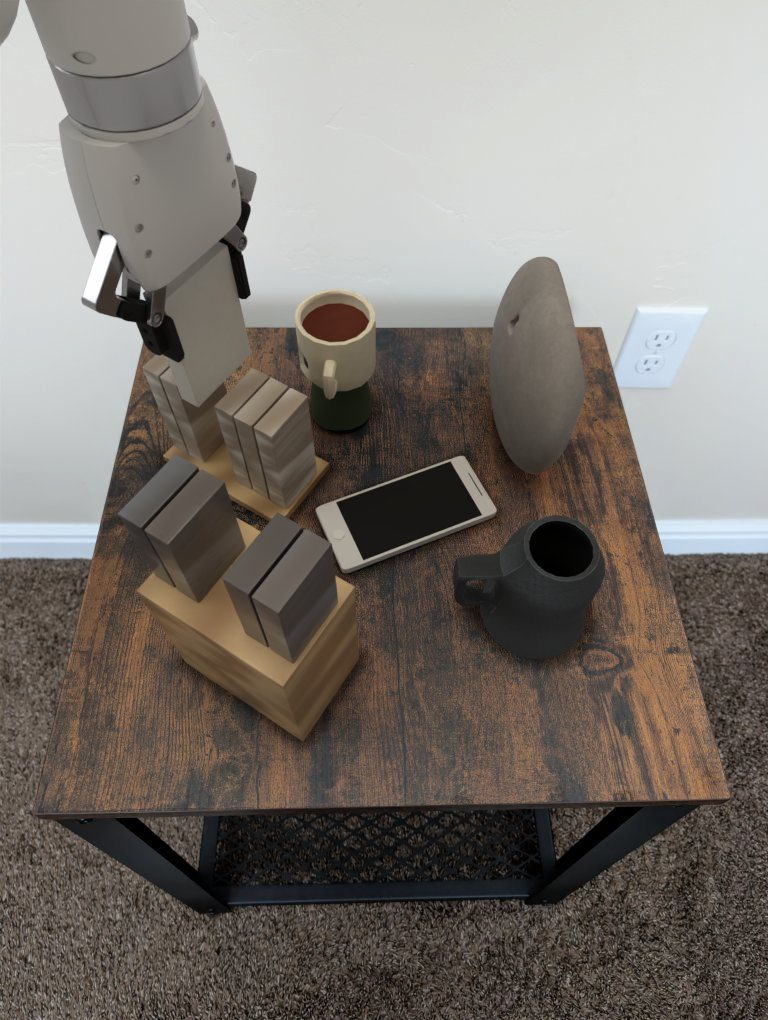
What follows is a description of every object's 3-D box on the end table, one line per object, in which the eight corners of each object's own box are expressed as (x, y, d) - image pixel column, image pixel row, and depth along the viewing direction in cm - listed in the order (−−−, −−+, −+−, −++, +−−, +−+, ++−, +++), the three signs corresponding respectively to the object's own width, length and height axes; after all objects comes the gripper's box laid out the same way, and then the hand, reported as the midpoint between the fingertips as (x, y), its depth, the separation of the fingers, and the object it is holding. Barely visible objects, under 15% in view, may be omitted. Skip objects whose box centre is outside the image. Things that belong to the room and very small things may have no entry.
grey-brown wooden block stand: (165, 461, 69) (128, 378, 58) (217, 408, 72) (191, 320, 62) (280, 528, 65) (262, 451, 55) (329, 468, 68) (321, 385, 58)
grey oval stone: (567, 510, 66) (629, 373, 50) (493, 513, 66) (530, 376, 50) (535, 364, 76) (577, 210, 60) (469, 366, 76) (495, 212, 60)
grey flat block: (181, 398, 57) (142, 293, 48) (235, 345, 60) (208, 236, 51) (198, 407, 57) (162, 303, 47) (251, 353, 60) (227, 245, 50)
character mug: (315, 369, 75) (304, 270, 64) (381, 374, 75) (382, 276, 64) (298, 451, 69) (283, 358, 58) (369, 457, 69) (368, 365, 58)
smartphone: (315, 512, 66) (314, 506, 65) (462, 459, 69) (463, 453, 68) (343, 575, 62) (343, 570, 61) (497, 516, 66) (498, 511, 65)
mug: (575, 560, 63) (611, 493, 54) (594, 658, 59) (637, 603, 49) (443, 563, 63) (454, 496, 53) (451, 661, 58) (465, 607, 49)
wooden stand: (185, 662, 58) (94, 530, 39) (245, 588, 62) (188, 434, 43) (303, 741, 55) (265, 639, 36) (359, 658, 58) (351, 525, 40)
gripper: (181, -5, 43) (234, 240, 58) (-46, 133, 35) (82, 374, 51) (280, 28, 41) (307, 274, 56) (61, 182, 33) (161, 418, 49)
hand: (200, 320), depth 53 cm, fingers closed on grey flat block, 7 cm apart
